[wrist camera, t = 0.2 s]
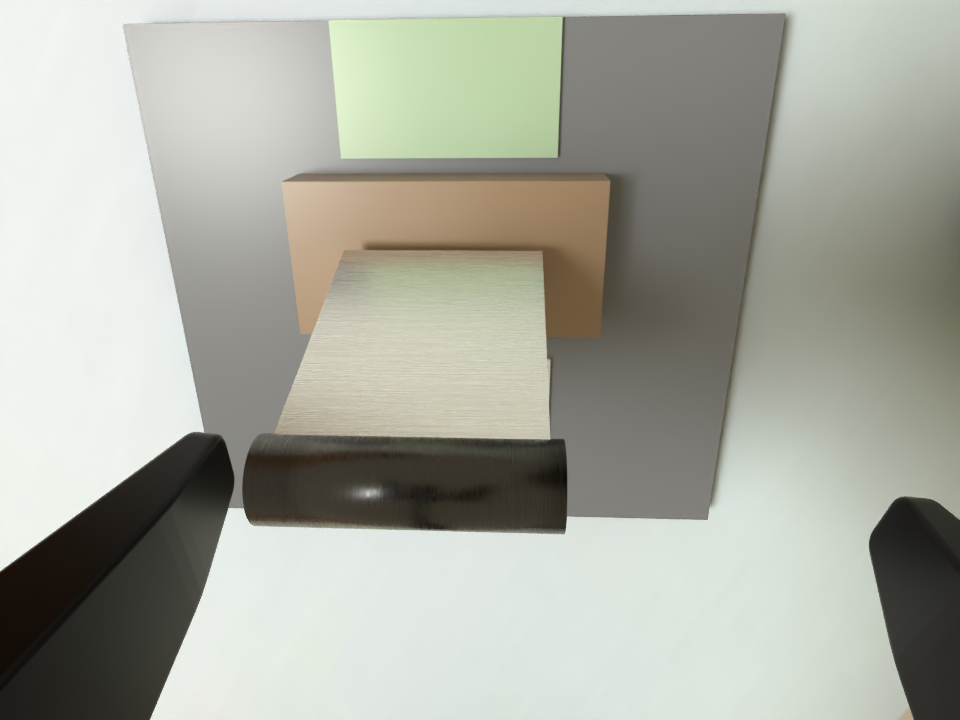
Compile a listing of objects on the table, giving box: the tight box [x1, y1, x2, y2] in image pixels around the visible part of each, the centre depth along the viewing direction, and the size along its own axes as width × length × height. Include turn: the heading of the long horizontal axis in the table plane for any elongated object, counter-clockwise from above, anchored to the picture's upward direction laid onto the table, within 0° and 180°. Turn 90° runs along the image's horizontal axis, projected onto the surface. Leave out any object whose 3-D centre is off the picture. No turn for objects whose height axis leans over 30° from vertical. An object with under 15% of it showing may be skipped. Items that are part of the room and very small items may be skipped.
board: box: [123, 14, 786, 520], centre depth 23 cm, size 18×20×3 cm
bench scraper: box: [242, 250, 567, 534], centre depth 17 cm, size 2×7×9 cm, turn 90°
